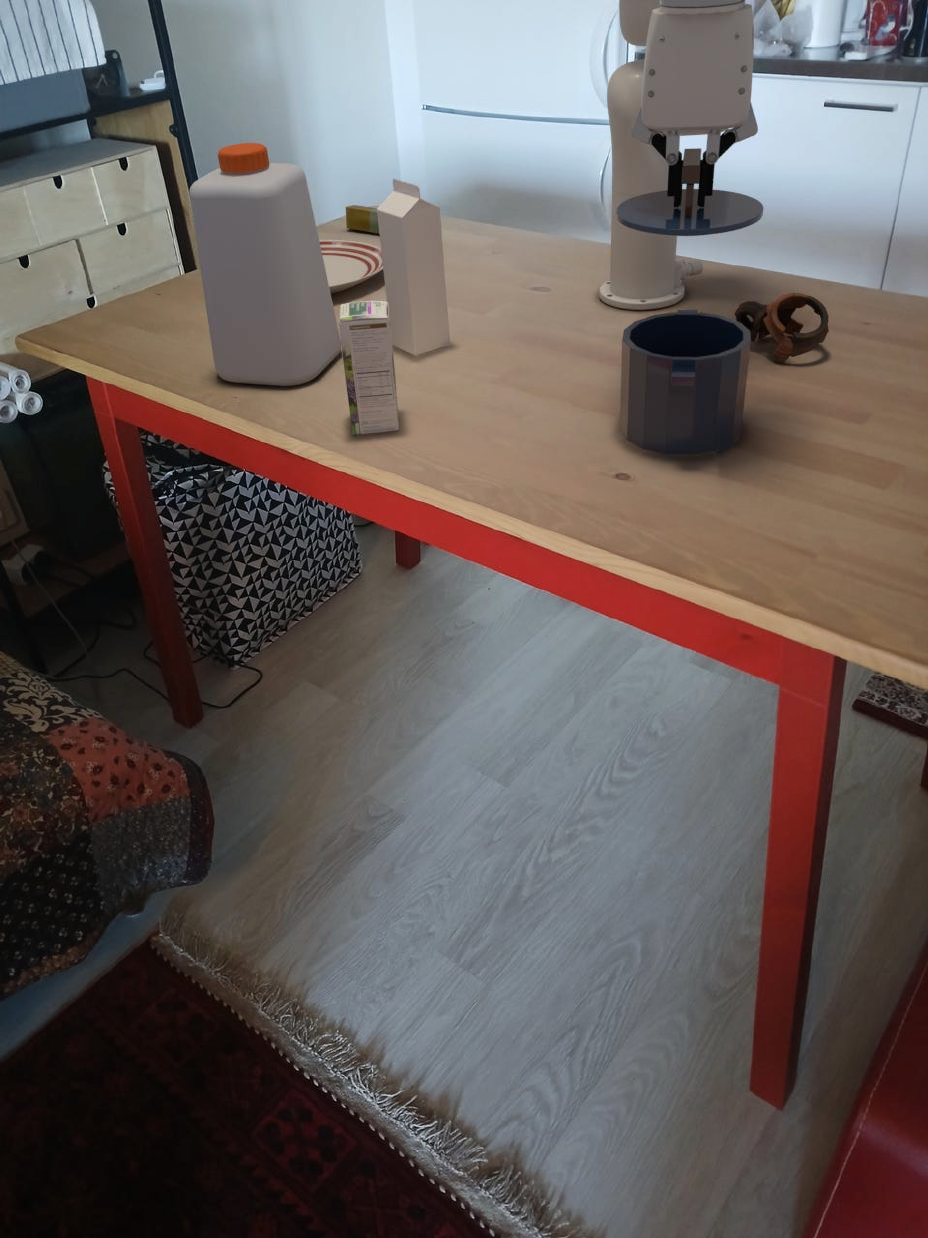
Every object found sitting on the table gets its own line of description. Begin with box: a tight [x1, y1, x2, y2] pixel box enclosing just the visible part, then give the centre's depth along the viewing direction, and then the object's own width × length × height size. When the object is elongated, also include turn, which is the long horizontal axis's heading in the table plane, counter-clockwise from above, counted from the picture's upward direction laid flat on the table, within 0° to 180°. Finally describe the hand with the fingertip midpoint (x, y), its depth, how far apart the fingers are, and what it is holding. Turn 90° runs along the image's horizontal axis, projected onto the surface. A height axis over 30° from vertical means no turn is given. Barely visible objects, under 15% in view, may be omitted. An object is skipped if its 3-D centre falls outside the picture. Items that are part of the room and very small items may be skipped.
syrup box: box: [338, 300, 400, 436], centre depth 120 cm, size 6×6×14 cm
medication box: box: [345, 204, 380, 235], centre depth 188 cm, size 12×3×4 cm, turn 56°
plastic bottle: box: [189, 142, 342, 387], centre depth 133 cm, size 15×15×28 cm
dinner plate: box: [319, 239, 383, 295], centre depth 168 cm, size 27×27×3 cm
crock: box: [619, 309, 752, 456], centre depth 115 cm, size 14×19×12 cm
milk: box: [376, 178, 451, 357], centre depth 137 cm, size 6×6×22 cm
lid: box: [616, 147, 764, 237], centre depth 102 cm, size 15×15×6 cm
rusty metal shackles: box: [734, 292, 830, 364], centre depth 133 cm, size 12×10×8 cm
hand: (689, 202), depth 103 cm, fingers closed on lid
